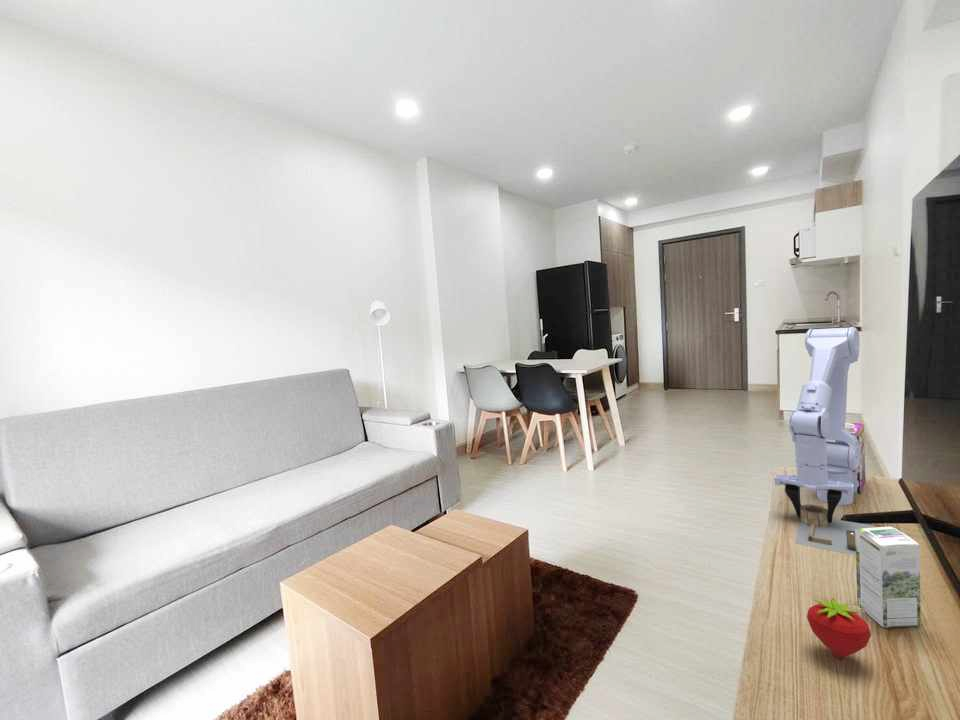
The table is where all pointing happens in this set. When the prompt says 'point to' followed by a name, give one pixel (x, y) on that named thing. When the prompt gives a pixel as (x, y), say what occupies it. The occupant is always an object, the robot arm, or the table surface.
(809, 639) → the table surface
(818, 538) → the board
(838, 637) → the strawberry
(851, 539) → the end peg
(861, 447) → the candy bar box
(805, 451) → the robot arm
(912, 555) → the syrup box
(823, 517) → the ring
